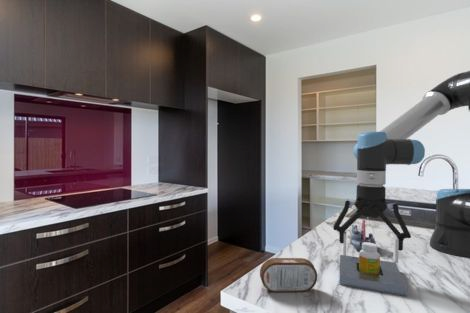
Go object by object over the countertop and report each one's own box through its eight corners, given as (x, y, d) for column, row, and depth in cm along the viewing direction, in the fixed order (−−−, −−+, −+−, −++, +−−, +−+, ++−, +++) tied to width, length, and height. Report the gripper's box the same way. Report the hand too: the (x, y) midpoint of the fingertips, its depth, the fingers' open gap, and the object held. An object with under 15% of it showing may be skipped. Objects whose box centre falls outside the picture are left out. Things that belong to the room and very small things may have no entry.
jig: (395, 270, 83) (395, 262, 83) (406, 296, 68) (407, 286, 68) (340, 262, 89) (340, 254, 89) (339, 284, 74) (339, 275, 74)
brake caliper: (386, 249, 94) (363, 220, 96) (358, 264, 97) (337, 236, 100) (380, 239, 105) (360, 213, 107) (355, 253, 108) (336, 228, 110)
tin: (314, 287, 73) (315, 256, 73) (318, 293, 70) (319, 261, 70) (259, 287, 72) (259, 257, 72) (261, 294, 69) (261, 261, 69)
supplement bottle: (368, 282, 76) (368, 248, 75) (354, 274, 81) (355, 242, 81) (383, 280, 77) (384, 246, 77) (369, 272, 82) (370, 240, 82)
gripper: (325, 184, 79) (324, 255, 80) (425, 189, 70) (423, 269, 71) (326, 181, 86) (325, 247, 87) (417, 185, 77) (416, 259, 78)
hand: (369, 257), depth 79 cm, fingers open, 13 cm apart
